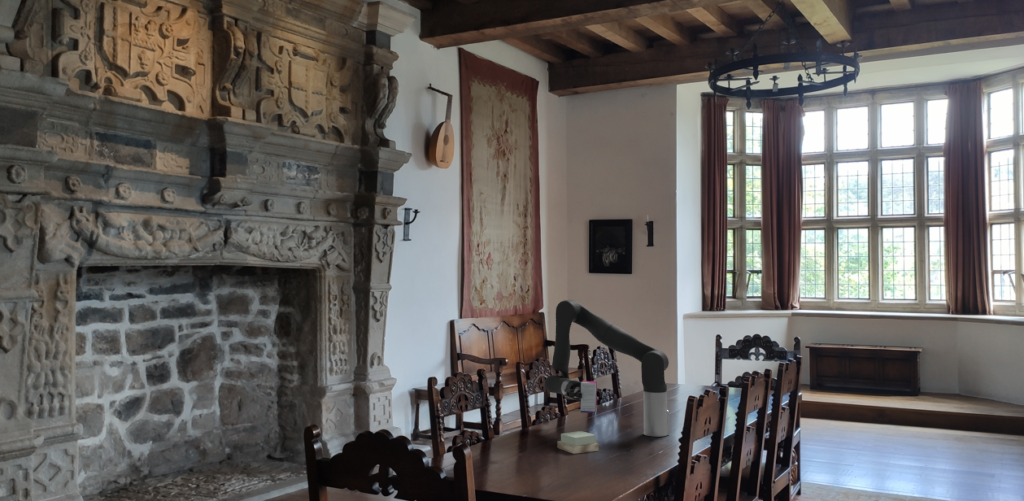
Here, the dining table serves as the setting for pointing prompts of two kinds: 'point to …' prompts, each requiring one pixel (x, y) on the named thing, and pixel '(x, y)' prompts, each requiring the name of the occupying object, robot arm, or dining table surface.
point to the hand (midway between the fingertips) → (591, 395)
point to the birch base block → (578, 447)
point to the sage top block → (578, 438)
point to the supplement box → (588, 396)
